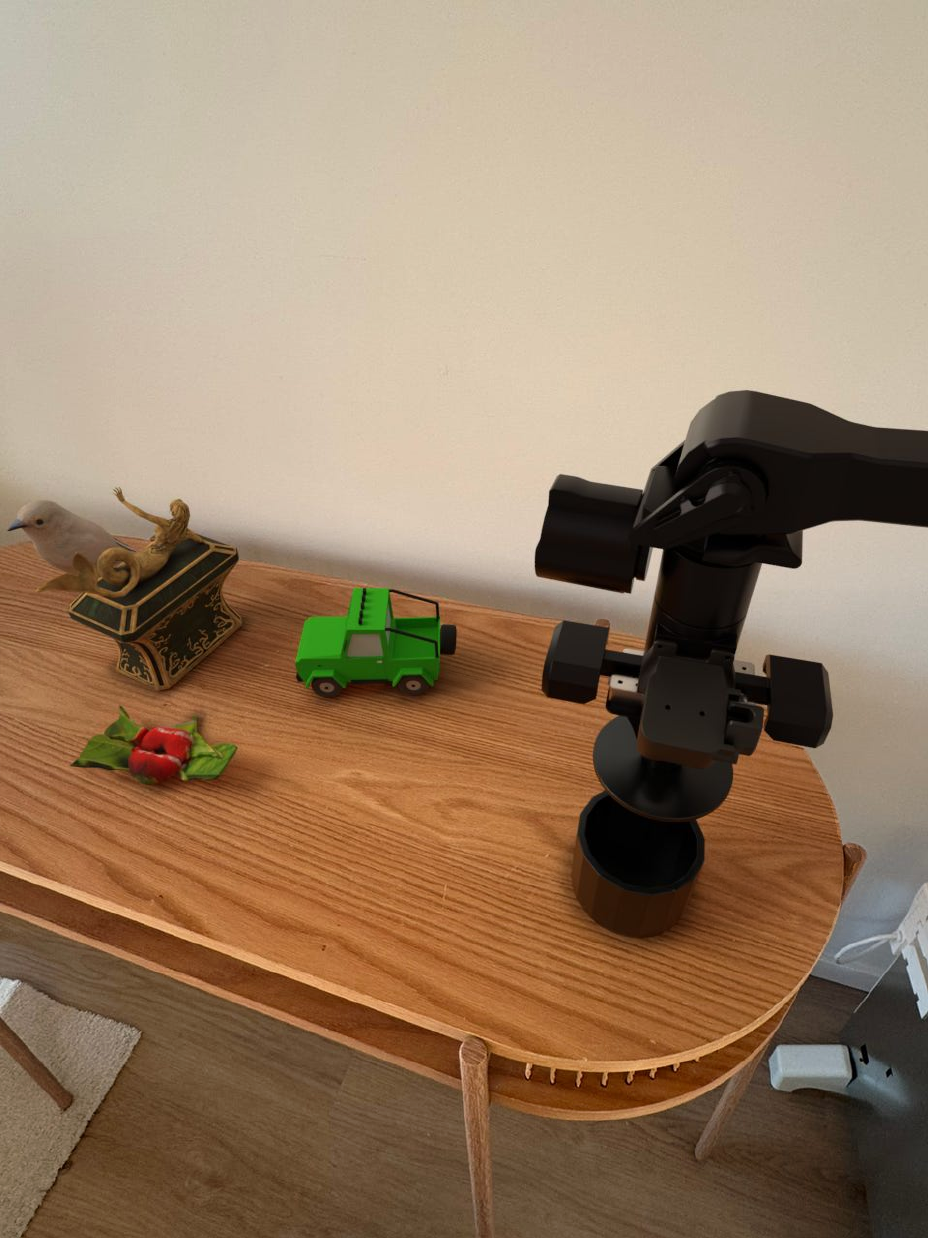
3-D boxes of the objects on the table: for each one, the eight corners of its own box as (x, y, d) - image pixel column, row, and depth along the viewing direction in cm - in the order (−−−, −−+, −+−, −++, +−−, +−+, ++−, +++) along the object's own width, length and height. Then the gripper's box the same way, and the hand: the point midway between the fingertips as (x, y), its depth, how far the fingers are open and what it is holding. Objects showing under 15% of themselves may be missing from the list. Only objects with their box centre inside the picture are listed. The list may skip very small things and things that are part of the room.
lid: (750, 755, 58) (767, 710, 54) (697, 853, 52) (712, 809, 48) (629, 698, 63) (637, 654, 59) (567, 782, 56) (572, 738, 53)
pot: (707, 869, 63) (724, 823, 58) (657, 962, 57) (671, 920, 52) (605, 812, 67) (614, 765, 63) (550, 893, 62) (554, 848, 57)
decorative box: (202, 593, 93) (155, 454, 80) (260, 616, 89) (221, 474, 76) (71, 696, 80) (-10, 550, 67) (133, 727, 76) (60, 580, 63)
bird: (43, 613, 91) (-12, 511, 81) (135, 559, 99) (95, 460, 89) (66, 628, 89) (13, 525, 79) (158, 571, 97) (120, 471, 87)
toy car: (310, 647, 85) (295, 580, 78) (457, 644, 85) (455, 576, 78) (298, 701, 79) (281, 633, 72) (458, 698, 79) (455, 629, 72)
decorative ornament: (65, 764, 69) (123, 682, 76) (91, 790, 73) (144, 709, 79) (203, 787, 65) (251, 698, 72) (223, 813, 68) (267, 726, 75)
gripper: (528, 660, 42) (521, 815, 52) (879, 723, 38) (796, 878, 48) (563, 550, 50) (551, 703, 60) (856, 592, 46) (789, 749, 56)
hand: (662, 755), depth 56 cm, fingers closed on lid, 2 cm apart
